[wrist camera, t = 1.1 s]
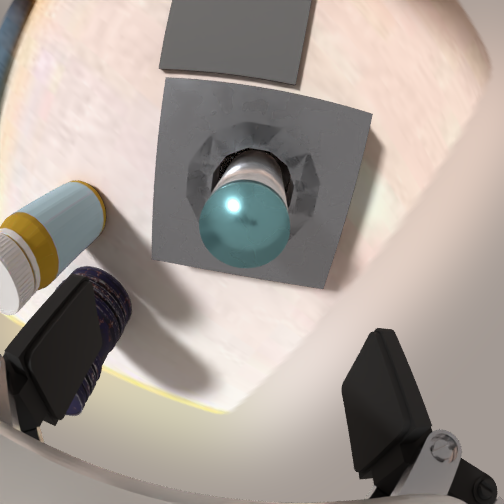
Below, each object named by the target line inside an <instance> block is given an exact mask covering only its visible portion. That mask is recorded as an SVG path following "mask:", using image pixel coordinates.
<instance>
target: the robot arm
mask: <svg viewBox="0 0 504 504" xmlns="http://www.w3.org/2000/svg"><path fill="white" fill-rule="evenodd" d="M101 346H102V337H101V331H100V326H99V320H98V315H97V308H96V302H95V295H94V288H93V284H92V283H91V282H90V281H89V278H88V277H86V276H82V275H78V274H71V275H70V276H69V277H68V278H67V279H66V280H65V281H64V282H63V283H62V284H61V285H60V286H59V287H58V289H57V290H56V291H55V292H54V293H53V294H52V295H51V296H50V297H49V298H48V299H47V301H46V302H45V303H44V304H43V305H42V306H41V307H40V308H39V310H38V311H37V312H36V313H35V314H34V315H33V316H32V318H31V319H30V320H29V321H28V322H27V323H26V325H25V326H24V327H23V328H22V329H21V331H20V332H19V333H18V334H17V336H16V337H15V338H14V339H13V340H12V342H11V343H10V344H9V345H8V347H7V348H6V349H5V354H4V356H3V357H2V355H1V354H0V504H504V500H503V499H502V498H501V497H498V498H496V497H497V486H496V483H495V482H494V480H493V479H492V478H491V477H490V476H489V475H487V474H486V473H484V472H482V471H481V470H479V469H478V468H476V467H475V466H473V465H471V464H470V463H468V462H467V461H465V460H464V459H462V458H461V454H462V449H461V445H460V443H459V440H458V439H457V438H456V436H454V435H453V434H452V433H451V432H449V431H446V430H440V429H439V430H435V431H433V432H432V429H431V426H432V424H431V421H430V419H429V416H428V413H427V410H426V408H425V405H424V402H423V399H422V397H421V394H420V392H419V389H418V386H417V384H416V381H415V379H414V376H413V374H412V372H411V369H410V366H409V364H408V362H407V359H406V357H405V355H404V352H403V350H402V348H401V345H400V343H399V341H398V338H397V336H396V334H395V332H394V330H392V329H382V328H377V329H376V330H375V331H374V332H371V333H370V334H369V336H368V338H367V340H366V341H365V343H364V345H363V347H362V349H361V351H360V353H359V355H358V357H357V358H356V361H355V362H354V364H353V366H352V368H351V369H350V371H349V373H348V375H347V377H346V378H345V380H344V382H343V385H342V396H343V401H344V407H345V413H346V419H347V425H348V431H349V437H350V443H351V450H352V456H353V463H354V469H355V471H356V472H359V478H360V479H368V478H373V481H374V486H373V487H372V489H371V491H370V492H369V493H368V495H367V496H366V498H365V499H364V500H352V501H337V502H315V503H287V502H285V503H284V502H264V501H252V500H240V499H232V498H224V497H217V496H210V495H204V494H198V493H192V492H187V491H182V490H177V489H173V488H168V487H164V486H160V485H157V484H153V483H149V482H145V481H141V480H138V479H135V478H131V477H128V476H125V475H122V474H119V473H116V472H113V471H109V470H107V469H104V468H101V467H98V466H96V465H93V464H91V463H88V462H86V461H83V460H81V459H78V458H76V457H73V456H71V455H69V454H67V453H64V452H62V451H59V450H57V449H55V448H53V447H51V446H49V445H47V444H45V443H44V439H43V436H42V432H41V429H40V425H41V423H42V421H46V422H48V423H50V424H52V425H54V426H56V424H57V422H58V420H62V419H63V418H64V416H65V414H66V412H67V410H68V408H69V406H70V404H71V402H72V400H73V399H74V397H75V395H76V393H77V391H78V389H79V387H80V385H81V383H82V382H83V380H84V378H85V376H86V374H87V373H88V371H89V369H90V367H91V365H92V364H93V362H94V360H95V358H96V356H97V355H98V353H99V351H100V349H101Z"/></svg>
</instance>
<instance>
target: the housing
mask: <svg viewBox="0 0 504 504" xmlns="http://www.w3.org/2000/svg"><path fill="white" fill-rule="evenodd" d="M372 115H373V114H371V113H368V112H365V111H361V110H358V109H355V108H351V107H348V106H344V105H340V104H336V103H333V102H329V101H325V100H321V99H317V98H312V97H308V96H303V95H299V94H294V93H289V92H284V91H279V90H273V89H268V88H262V87H256V86H249V85H242V84H235V83H227V82H219V81H209V80H198V79H185V78H168V77H166V80H165V87H164V94H163V101H162V109H161V117H160V125H159V135H158V145H157V155H156V168H155V181H154V198H153V221H152V259H153V260H159V261H164V262H169V263H174V264H180V265H185V266H191V267H196V268H202V269H207V270H213V271H218V272H224V273H230V274H235V275H241V276H247V277H253V278H258V279H264V280H270V281H276V282H282V283H288V284H295V285H301V286H307V287H313V288H320V289H323V288H324V285H325V282H326V279H327V276H328V273H329V270H330V267H331V264H332V261H333V258H334V255H335V252H336V249H337V245H338V242H339V239H340V236H341V233H342V229H343V226H344V223H345V219H346V216H347V212H348V209H349V206H350V202H351V198H352V195H353V191H354V188H355V184H356V180H357V177H358V173H359V169H360V165H361V161H362V157H363V153H364V149H365V145H366V141H367V137H368V132H369V128H370V124H371V119H372ZM245 148H253V149H259V150H264V151H270V152H271V153H273V154H274V155H275V156H276V157H277V158H279V159H280V160H281V161H282V162H283V163H284V164H286V165H287V167H288V169H289V172H290V175H291V176H290V181H289V186H288V190H287V193H286V194H285V195H286V201H287V207H288V213H289V220H290V235H289V239H288V242H287V244H286V246H285V248H284V249H283V251H282V252H281V253H280V254H279V255H278V256H277V257H276V258H275V259H274V260H272V261H271V262H269V263H267V264H265V265H262V266H259V267H255V268H237V267H233V266H230V265H227V264H225V263H223V262H221V261H219V260H218V259H216V258H215V257H214V256H213V255H212V254H211V253H210V252H209V251H208V249H207V248H206V247H205V245H204V243H203V241H202V238H201V235H200V230H199V220H200V215H201V212H202V209H203V207H204V205H205V203H206V202H207V200H208V199H209V197H210V195H211V194H212V192H213V190H214V189H215V187H216V186H217V184H218V182H219V181H218V179H219V172H220V165H221V162H222V161H223V159H224V158H225V157H226V156H227V155H229V154H232V153H234V152H237V151H240V150H243V149H245Z"/></svg>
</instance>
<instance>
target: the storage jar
mask: <svg viewBox="0 0 504 504" xmlns="http://www.w3.org/2000/svg"><path fill="white" fill-rule="evenodd" d="M71 274H78V275H82V276H86V277H88V278H89V281H90V282H91V283H92V284H93V288H94V295H95V302H96V308H97V315H98V320H99V326H100V331H101V337H102V346H101V349H100V351H99V353H98V355H97V356H96V358H95V360H94V362H93V364H92V365H91V367H90V369H89V371H88V373H87V374H86V376H85V378H84V380H83V382H82V383H81V385H80V387H79V389H78V391H77V393H76V395H75V397H74V399H73V400H72V402H71V404H70V406H69V408H68V410H67V412H66V414H65V415H70V416H76V415H79V414H80V413H81V412H82V410H83V408H84V406H85V403H86V402H87V400H88V397H89V396H90V395H91V393H92V391H93V389H94V387H95V385H96V381H97V380H98V379H99V377H100V373H101V370H102V365H103V363H104V361H105V359H106V357H107V355H108V353H109V352H111V351H112V349H113V348H114V346H115V345H116V343H117V341H118V340H119V339H120V337H121V335H122V333H123V331H124V328H125V326H126V324H127V322H128V320H129V319H130V316H131V311H132V308H131V302H130V299H129V296H128V294H127V292H126V291H125V289H124V288H123V286H122V285H121V284H120V283H119V282H118V281H117V280H116V279H115V278H114V277H113V276H112V275H110V274H109V273H107V272H105V271H103V270H101V269H99V268H96V267H91V266H84V267H80V268H77V269H76V270H74V271H73V272H72V273H71ZM71 274H70V275H71ZM64 281H65V280H64ZM64 281H63V282H64ZM63 282H62V283H63ZM62 283H61V284H62ZM61 284H60V285H61ZM60 285H59V286H60ZM59 286H58V287H59ZM58 287H57V288H56V290H57V289H58ZM56 290H55V291H56ZM4 354H5V353H4Z"/></svg>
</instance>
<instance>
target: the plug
mask: <svg viewBox="0 0 504 504" xmlns="http://www.w3.org/2000/svg"><path fill="white" fill-rule="evenodd" d="M199 230H200V235H201V238H202V241H203V243H204V245H205V247H206V248H207V249H208V251H209V252H210V253H211V254H212V255H213V256H214V257H215V258H216V259H218V260H219V261H221V262H223V263H225V264H227V265H230V266H233V267H237V268H255V267H259V266H262V265H265V264H267V263H269V262H271V261H272V260H274V259H275V258H276V257H277V256H278V255H279V254H280V253H281V252H282V251H283V249H284V248H285V246H286V244H287V242H288V239H289V235H290V220H289V213H288V207H287V201H286V195H285V189H284V184H283V178H282V172H281V168H280V166H279V164H278V163H277V161H276V160H275V159H274V158H273V157H272V156H271V155H269V154H267V153H265V152H263V151H258V150H250V151H246V152H243V153H241V154H239V155H238V156H236V157H235V158H234V159H233V160H232V162H231V163H230V165H229V166H228V168H227V170H226V171H225V173H224V174H223V176H222V178H221V179H220V181H219V182H218V184H217V186H216V187H215V189H214V190H213V192H212V194H211V195H210V197H209V199H208V200H207V202H206V203H205V205H204V207H203V209H202V212H201V215H200V220H199Z"/></svg>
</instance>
